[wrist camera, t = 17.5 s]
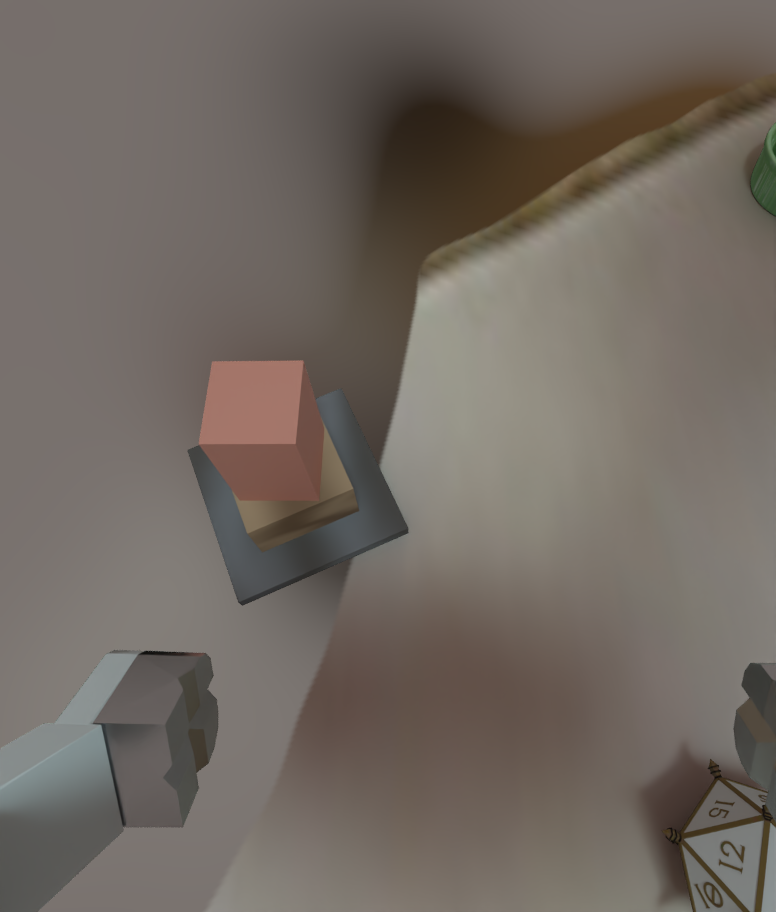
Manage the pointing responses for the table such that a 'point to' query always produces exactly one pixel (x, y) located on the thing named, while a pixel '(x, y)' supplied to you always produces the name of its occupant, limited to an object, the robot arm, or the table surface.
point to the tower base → (318, 543)
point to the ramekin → (766, 174)
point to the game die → (729, 849)
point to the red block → (264, 430)
